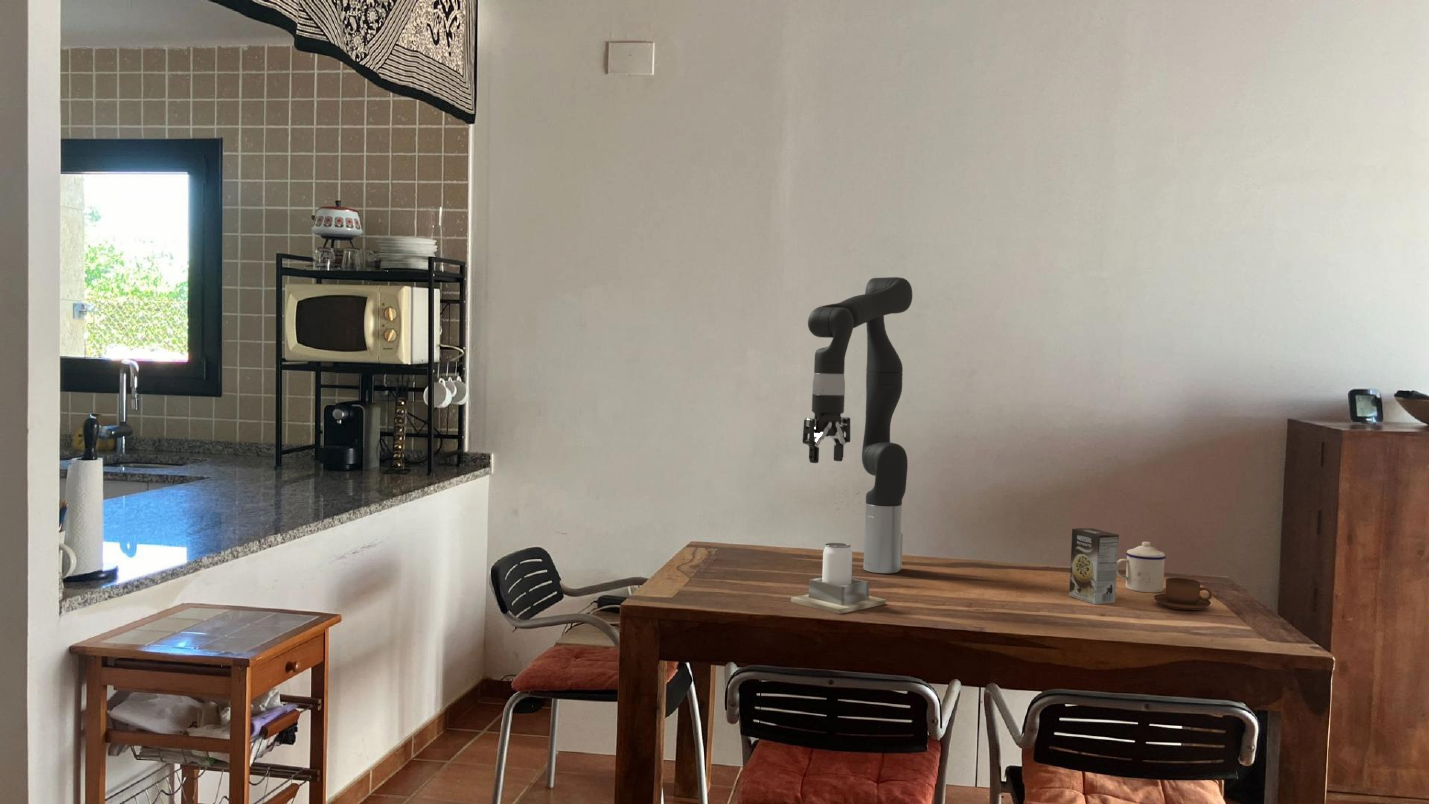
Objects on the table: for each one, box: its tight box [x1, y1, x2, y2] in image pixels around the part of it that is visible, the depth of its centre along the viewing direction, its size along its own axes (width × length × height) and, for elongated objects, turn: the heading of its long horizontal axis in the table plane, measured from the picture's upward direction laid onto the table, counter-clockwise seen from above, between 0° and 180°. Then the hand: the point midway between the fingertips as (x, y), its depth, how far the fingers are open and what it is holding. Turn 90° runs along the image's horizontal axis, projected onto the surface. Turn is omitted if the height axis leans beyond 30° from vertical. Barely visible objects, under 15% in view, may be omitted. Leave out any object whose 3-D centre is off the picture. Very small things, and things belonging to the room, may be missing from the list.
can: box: [821, 542, 853, 586], centre depth 249 cm, size 6×6×12 cm
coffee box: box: [1068, 527, 1120, 605], centre depth 260 cm, size 9×6×16 cm
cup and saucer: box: [1153, 577, 1213, 611], centre depth 255 cm, size 12×12×6 cm
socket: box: [790, 577, 887, 615], centre depth 249 cm, size 16×14×5 cm
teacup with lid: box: [1117, 541, 1167, 594], centre depth 274 cm, size 12×9×12 cm
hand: (826, 461), depth 262 cm, fingers open, 8 cm apart
